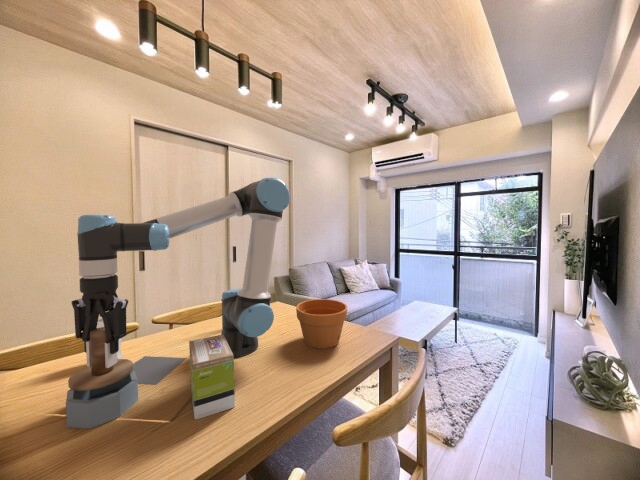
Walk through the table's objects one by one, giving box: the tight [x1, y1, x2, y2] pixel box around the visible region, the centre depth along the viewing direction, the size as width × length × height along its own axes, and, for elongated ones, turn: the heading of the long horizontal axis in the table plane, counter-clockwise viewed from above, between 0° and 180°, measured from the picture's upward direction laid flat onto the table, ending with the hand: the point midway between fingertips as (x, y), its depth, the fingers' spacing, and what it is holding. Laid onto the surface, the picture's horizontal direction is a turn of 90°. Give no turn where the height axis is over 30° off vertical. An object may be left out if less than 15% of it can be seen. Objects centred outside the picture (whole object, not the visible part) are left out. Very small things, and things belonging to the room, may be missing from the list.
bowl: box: [65, 371, 139, 429], centre depth 69 cm, size 14×14×6 cm
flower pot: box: [295, 298, 348, 349], centre depth 110 cm, size 21×21×15 cm
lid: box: [67, 327, 134, 391], centre depth 69 cm, size 13×13×12 cm
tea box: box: [188, 334, 236, 421], centre depth 73 cm, size 15×10×15 cm, turn 29°
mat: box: [132, 355, 188, 386], centre depth 88 cm, size 16×16×1 cm
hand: (102, 364), depth 69 cm, fingers closed on lid, 4 cm apart
